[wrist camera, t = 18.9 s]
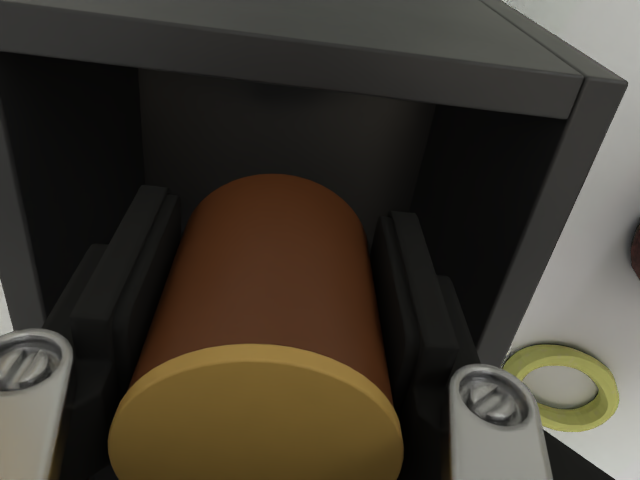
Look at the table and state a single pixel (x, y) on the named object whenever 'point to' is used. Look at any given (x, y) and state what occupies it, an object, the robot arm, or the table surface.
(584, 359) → the key
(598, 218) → the table surface
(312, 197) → the coffee pod
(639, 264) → the can
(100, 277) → the robot arm
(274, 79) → the black hollow box
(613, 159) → the table surface
